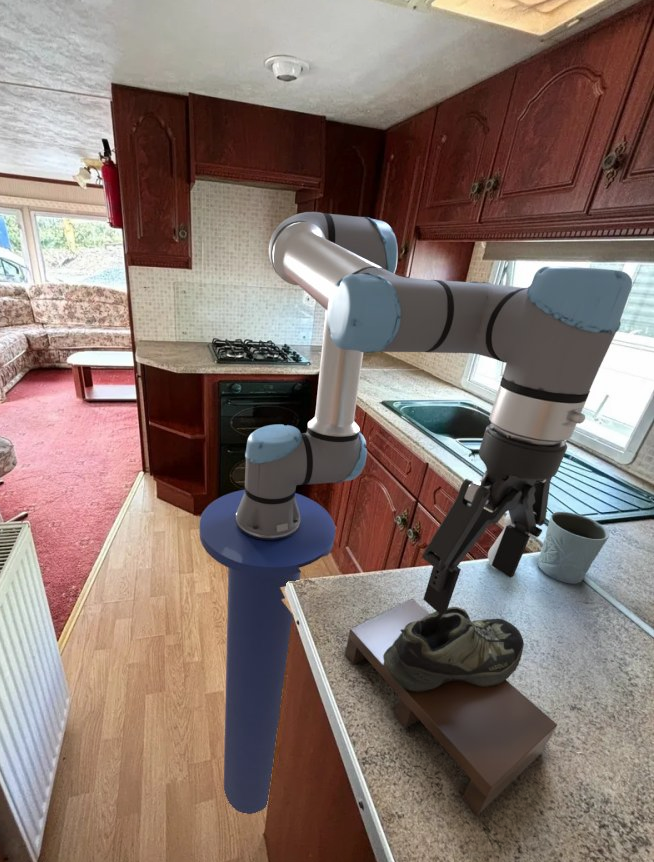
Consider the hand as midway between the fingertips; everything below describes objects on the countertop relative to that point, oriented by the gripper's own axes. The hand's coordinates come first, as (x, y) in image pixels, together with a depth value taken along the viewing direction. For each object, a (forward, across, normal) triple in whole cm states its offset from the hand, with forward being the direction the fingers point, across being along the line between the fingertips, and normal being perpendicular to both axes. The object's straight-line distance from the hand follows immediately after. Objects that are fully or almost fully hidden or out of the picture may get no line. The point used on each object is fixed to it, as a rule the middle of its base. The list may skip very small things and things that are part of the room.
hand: (470, 587), depth 51 cm
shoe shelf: (+21, 0, -1) cm, 21 cm away
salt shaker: (+22, +38, +13) cm, 45 cm away
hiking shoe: (+15, +2, 0) cm, 15 cm away
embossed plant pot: (+22, +49, +6) cm, 54 cm away
